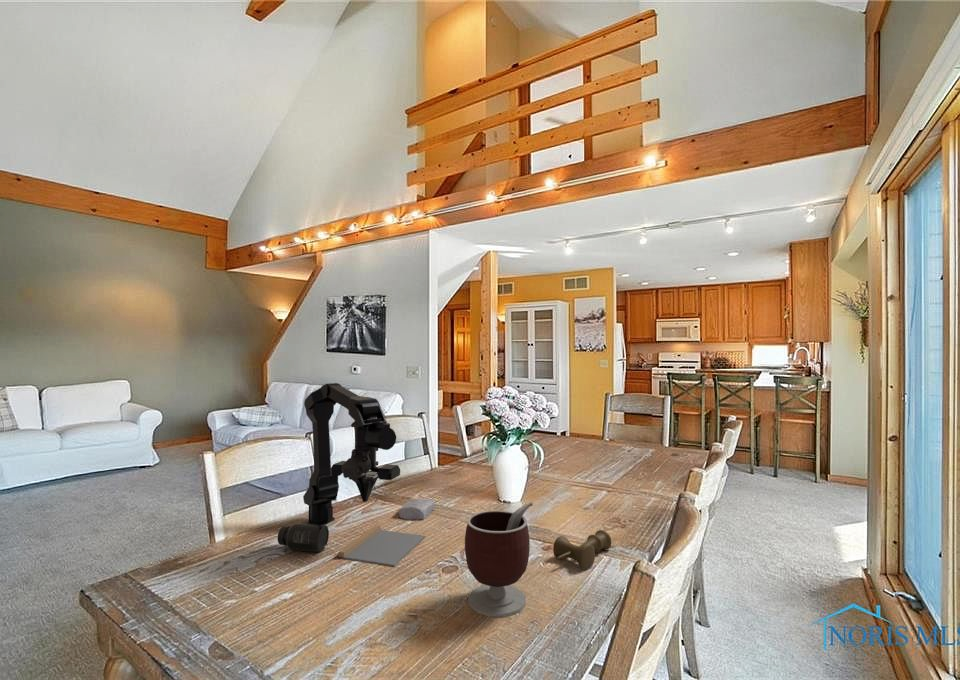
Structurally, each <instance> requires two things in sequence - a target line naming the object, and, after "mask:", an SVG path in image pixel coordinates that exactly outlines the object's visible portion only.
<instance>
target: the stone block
mask: <svg viewBox="0 0 960 680" xmlns="http://www.w3.org/2000/svg"><path fill="white" fill-rule="evenodd" d="M435 508H436V502H435V499H428V498H419V497H418V498H413V499H410V500H407V502H405V503H404V504H403V505H402V506H401V507H400V508H399V509H398V514H399V517H401V518H400V519H402V518H405V520H415V519H425V520H426V519H427V518H428V517H429V516H430V515H431V514H432V512H433V511H434V510H435ZM433 509H434V510H433ZM432 510H433V511H432ZM428 515H429V516H428ZM427 516H428V517H427ZM426 517H427V518H426Z"/></svg>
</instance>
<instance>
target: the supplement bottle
mask: <svg viewBox="0 0 960 680" xmlns="http://www.w3.org/2000/svg"><path fill="white" fill-rule="evenodd" d="M329 537H330V532H329V527H328V525H327V524H326V525H324V524H310V523H305V522H295V523H293V524H292V525H283V526H281V528H280V529H279V530H278V534H277V539H276V540H277V543H278V545H280V546H287V548H288V549H289V550H292V551H301V552H302V551H303V552H313V553H315V552H316V553H318V552H319V553H320V552H322V551H324V550H325V548H326V547H327V544H328V541H329Z"/></svg>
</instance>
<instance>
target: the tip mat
mask: <svg viewBox="0 0 960 680" xmlns="http://www.w3.org/2000/svg"><path fill="white" fill-rule="evenodd" d="M381 527H382V526H381V525H379V524H378V525H377V524H375V525H374V526H373V527H371V528H370V529H368V530H367V531H366V532H364V533H363V534H361V535H360V536H358V537H357V538H356V539H354V540H353V541H351V542H350V543H349V544H347V545H346V546H344V547H343V548H342V549H339V551H338V554H337V555H338V559H343V560H352V561H355V560H356V561H357V562H361V563H362V562H363V563H369V564H376V565H383V566H386V567H387V566H389V567H396V565H398V564H399V563H400V562H401V561H402V560H403V559H404V558H405V557H406V556H407V555H408V554H409V553H410V552H411V551H412V550H414V548H416V547H417V546H418V545H420V544H421V542H423V540H424V539H426V535H422V534H415V533H409V532H408V533H407V532H399V531H392V530H386V529H385V530H384V529H382V528H381Z"/></svg>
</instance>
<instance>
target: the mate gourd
mask: <svg viewBox="0 0 960 680" xmlns="http://www.w3.org/2000/svg"><path fill="white" fill-rule="evenodd" d="M532 506H533V502H532V501H529V502H528V503H526V504H524V505H522V506H521V507H518V509H516V510H515V511H514V512H513V511H507V510H485V511H484V510H483V511H479V512H475V513H474V514H471V515H470V516H469V517H468V518H467V521H466V522H467V525H466V528H465V536H464V553H465V561H466V565H467V569H468V571H469V572H470V574H471V575H472V577H474V579H475V580H476V581H477V582H478V583H480V584H482V585H479V586H477V587H476V588H474V589H473V590H471V591H470V592H469V594H468V605H469V606H470V608H471V609H472V610H473V611H475V612H476V613H478V614H480V615H484V616H487V617H492V618H503V617H510V616H514V615H516V614H517V613H520V612H521V611H522V610H524V608H525V606H526V601H527V600H526V595H525V594H524V592H523V591H522V590H520V589H519V588H517V587H515V586H513V584H516V583H517V582H518V581H519V580H520V579H521V577H522V576H523V575H524V574H525V573H526V570H527V567H528V565H529V564H528V563H529V558H530V552H531V551H530V541H531V539H530V534H529V533H530V532H529V527H528V520H527V518H526V517H524V514H525V513H526V511H527V510H528V509H529V508H530V507H532Z"/></svg>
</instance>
